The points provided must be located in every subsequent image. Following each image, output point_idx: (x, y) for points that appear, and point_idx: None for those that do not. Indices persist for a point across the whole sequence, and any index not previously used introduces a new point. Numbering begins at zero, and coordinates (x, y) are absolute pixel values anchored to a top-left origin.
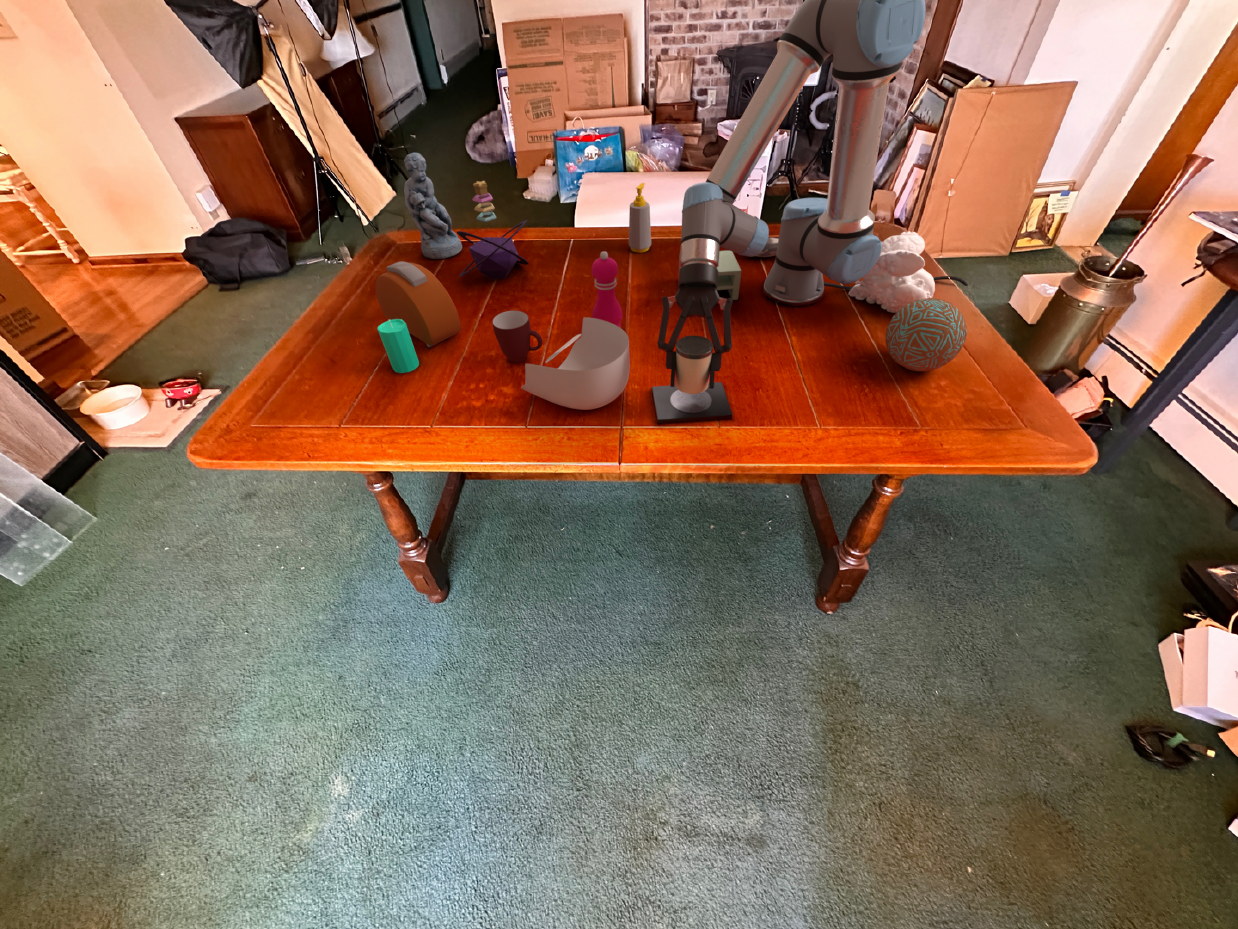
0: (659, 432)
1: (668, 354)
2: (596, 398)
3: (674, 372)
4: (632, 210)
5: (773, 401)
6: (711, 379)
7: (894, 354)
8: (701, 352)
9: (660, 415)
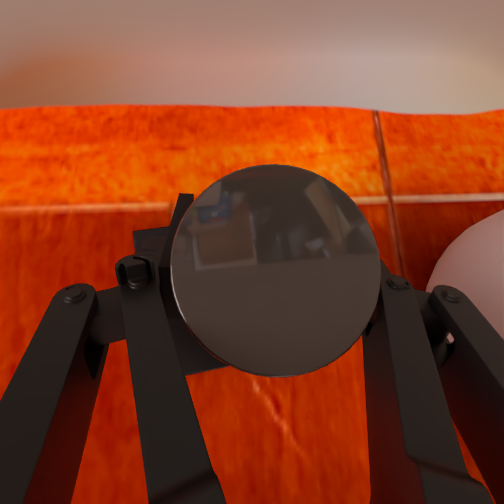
0: None
1: (381, 272)
2: (495, 213)
3: None
4: None
5: (5, 318)
6: (187, 203)
7: None
8: (240, 189)
9: None
